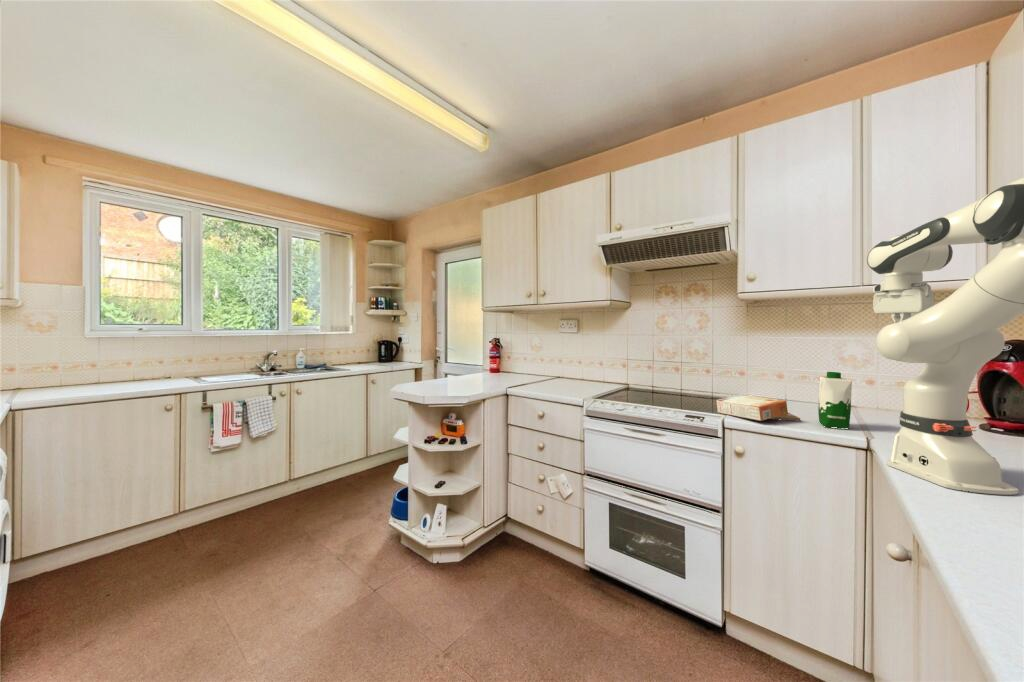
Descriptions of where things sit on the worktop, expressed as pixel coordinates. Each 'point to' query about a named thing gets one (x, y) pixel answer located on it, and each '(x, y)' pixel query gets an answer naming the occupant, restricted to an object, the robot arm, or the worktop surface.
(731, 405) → the cracker box
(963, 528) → the worktop surface
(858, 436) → the worktop surface
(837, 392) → the milk carton
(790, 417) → the walnut board
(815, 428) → the worktop surface
